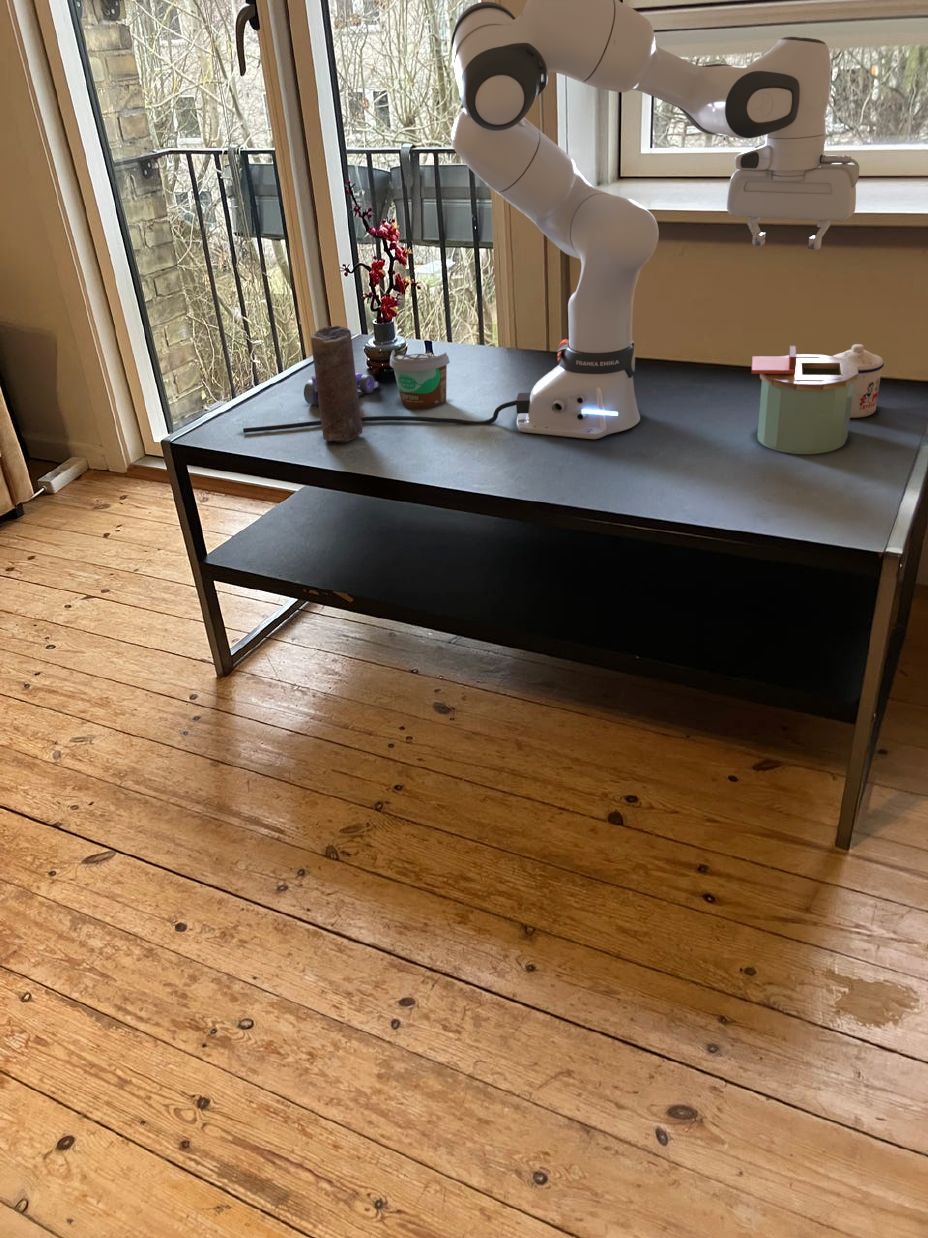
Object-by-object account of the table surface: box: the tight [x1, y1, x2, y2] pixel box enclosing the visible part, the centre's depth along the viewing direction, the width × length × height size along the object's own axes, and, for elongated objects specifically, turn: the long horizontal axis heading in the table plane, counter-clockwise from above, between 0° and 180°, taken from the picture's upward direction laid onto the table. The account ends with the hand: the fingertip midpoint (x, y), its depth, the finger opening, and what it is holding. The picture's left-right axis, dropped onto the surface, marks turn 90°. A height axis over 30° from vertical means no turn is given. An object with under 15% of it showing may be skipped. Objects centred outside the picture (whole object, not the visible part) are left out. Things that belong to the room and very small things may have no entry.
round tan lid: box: [759, 353, 859, 390], centre depth 165 cm, size 15×15×1 cm
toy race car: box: [303, 372, 379, 406], centre depth 205 cm, size 10×15×6 cm, turn 152°
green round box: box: [756, 369, 855, 455], centre depth 168 cm, size 14×14×11 cm
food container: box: [389, 349, 450, 410], centre depth 197 cm, size 12×6×10 cm, turn 68°
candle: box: [310, 325, 363, 443], centre depth 182 cm, size 8×7×20 cm
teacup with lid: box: [831, 343, 885, 419], centre depth 178 cm, size 12×9×12 cm
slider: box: [751, 345, 797, 375], centre depth 165 cm, size 7×7×3 cm
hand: (786, 246), depth 165 cm, fingers open, 8 cm apart
